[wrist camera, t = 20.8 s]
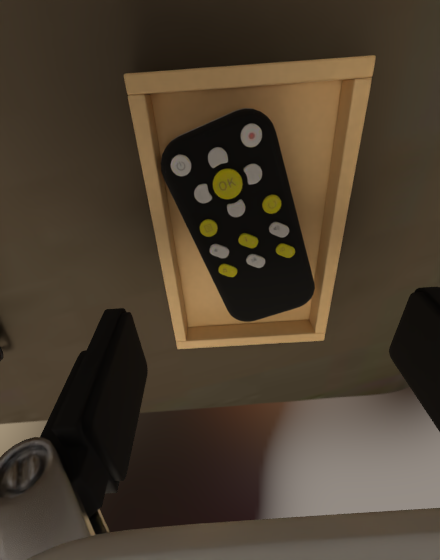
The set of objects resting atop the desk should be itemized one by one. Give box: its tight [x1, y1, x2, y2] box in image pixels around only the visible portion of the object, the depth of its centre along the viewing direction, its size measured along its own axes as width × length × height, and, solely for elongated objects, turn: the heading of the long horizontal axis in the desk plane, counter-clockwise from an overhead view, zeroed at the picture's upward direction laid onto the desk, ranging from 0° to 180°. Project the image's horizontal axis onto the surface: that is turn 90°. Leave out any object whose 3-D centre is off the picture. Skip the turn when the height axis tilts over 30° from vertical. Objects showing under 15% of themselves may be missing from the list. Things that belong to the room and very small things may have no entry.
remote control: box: [161, 108, 315, 322], centre depth 18 cm, size 6×13×2 cm, turn 21°
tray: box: [124, 55, 376, 349], centre depth 18 cm, size 17×11×2 cm, turn 3°
